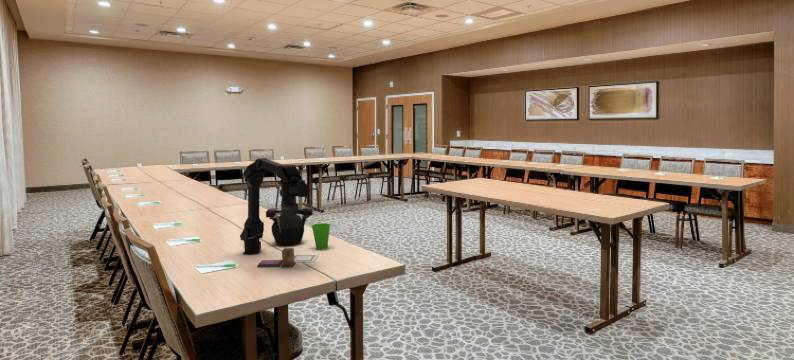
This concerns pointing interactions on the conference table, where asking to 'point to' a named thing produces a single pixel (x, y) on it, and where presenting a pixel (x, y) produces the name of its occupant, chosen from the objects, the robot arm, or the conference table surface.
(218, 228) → the conference table surface
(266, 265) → the ink pad
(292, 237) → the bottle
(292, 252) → the stamp
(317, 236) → the cup
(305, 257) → the frame
